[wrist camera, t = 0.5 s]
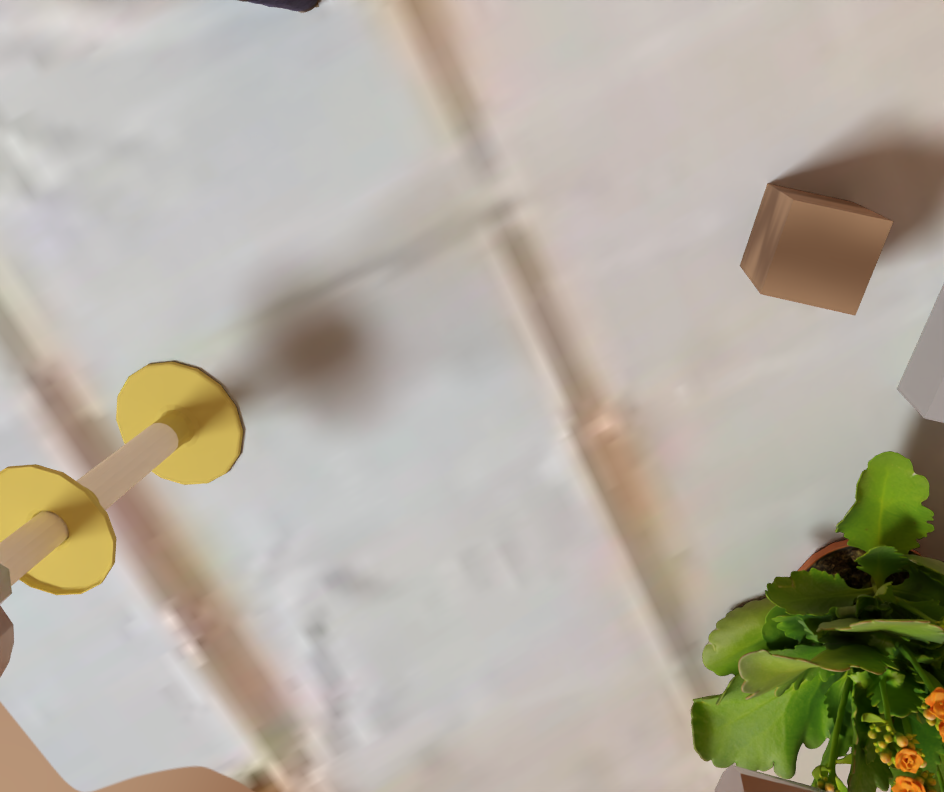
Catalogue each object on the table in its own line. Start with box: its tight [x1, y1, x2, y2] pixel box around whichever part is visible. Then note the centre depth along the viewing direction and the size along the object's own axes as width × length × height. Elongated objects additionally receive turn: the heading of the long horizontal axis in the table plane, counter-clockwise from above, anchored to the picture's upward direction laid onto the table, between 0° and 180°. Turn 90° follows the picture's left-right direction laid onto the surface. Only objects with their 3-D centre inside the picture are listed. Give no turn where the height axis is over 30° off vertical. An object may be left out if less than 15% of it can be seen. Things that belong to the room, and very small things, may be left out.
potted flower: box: [691, 451, 944, 792], centre depth 46 cm, size 25×24×18 cm
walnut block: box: [740, 184, 893, 315], centre depth 43 cm, size 5×5×7 cm
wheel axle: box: [0, 362, 243, 595], centre depth 44 cm, size 10×10×32 cm
